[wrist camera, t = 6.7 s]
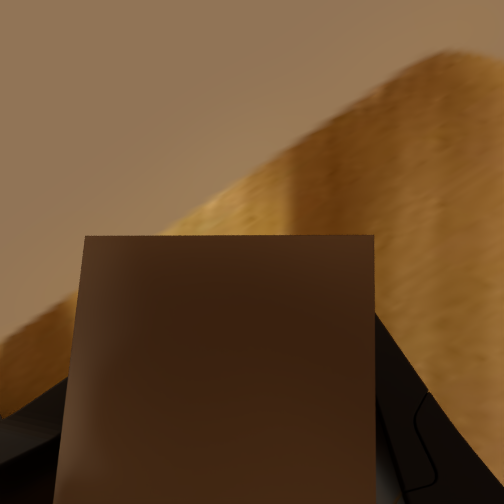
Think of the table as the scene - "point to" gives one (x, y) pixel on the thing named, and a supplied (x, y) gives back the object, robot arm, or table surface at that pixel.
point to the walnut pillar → (222, 372)
